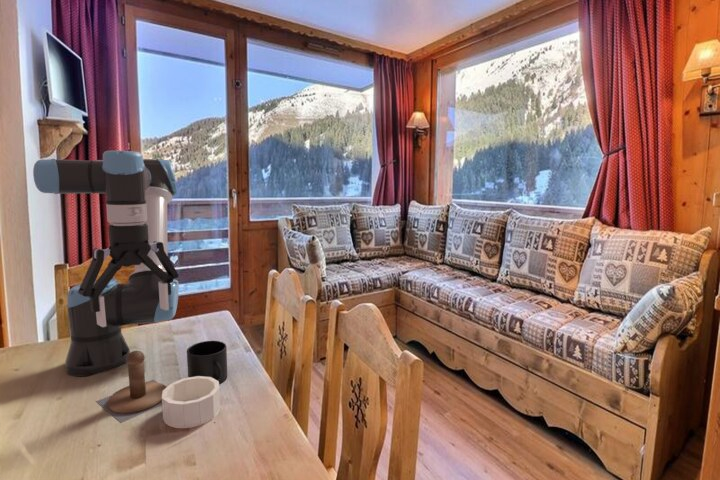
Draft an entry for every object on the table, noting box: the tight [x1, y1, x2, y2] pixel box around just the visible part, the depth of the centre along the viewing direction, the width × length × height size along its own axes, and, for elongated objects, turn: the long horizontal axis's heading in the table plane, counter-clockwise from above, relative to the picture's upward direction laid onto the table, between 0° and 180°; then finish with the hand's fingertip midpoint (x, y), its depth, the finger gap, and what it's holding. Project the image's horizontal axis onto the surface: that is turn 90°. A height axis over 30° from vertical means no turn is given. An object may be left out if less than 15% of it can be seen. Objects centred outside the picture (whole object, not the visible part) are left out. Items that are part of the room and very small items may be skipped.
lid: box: [108, 350, 167, 414], centre depth 92 cm, size 12×12×12 cm
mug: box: [186, 340, 228, 386], centre depth 102 cm, size 9×12×9 cm
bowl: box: [161, 376, 221, 429], centre depth 88 cm, size 12×12×6 cm
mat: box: [95, 379, 162, 424], centre depth 93 cm, size 13×13×1 cm
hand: (134, 316), depth 90 cm, fingers open, 13 cm apart
